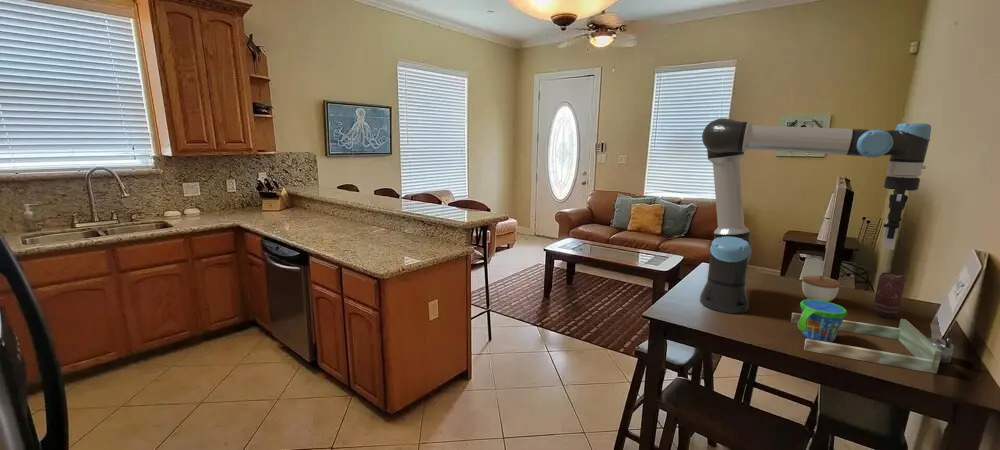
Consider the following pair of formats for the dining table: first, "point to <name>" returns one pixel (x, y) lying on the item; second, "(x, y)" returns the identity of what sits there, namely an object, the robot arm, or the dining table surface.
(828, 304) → the snack cup
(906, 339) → the bay
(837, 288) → the lidded jar
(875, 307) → the can
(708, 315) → the dining table surface
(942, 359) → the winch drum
